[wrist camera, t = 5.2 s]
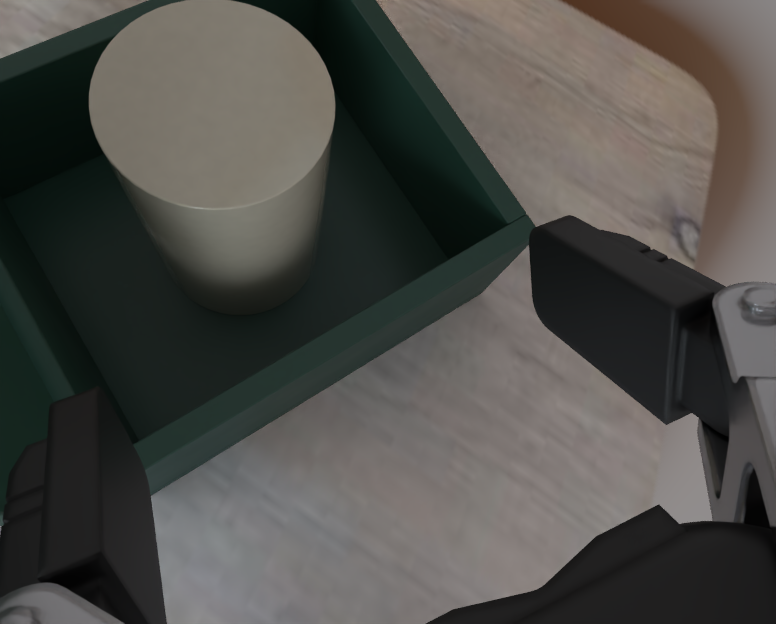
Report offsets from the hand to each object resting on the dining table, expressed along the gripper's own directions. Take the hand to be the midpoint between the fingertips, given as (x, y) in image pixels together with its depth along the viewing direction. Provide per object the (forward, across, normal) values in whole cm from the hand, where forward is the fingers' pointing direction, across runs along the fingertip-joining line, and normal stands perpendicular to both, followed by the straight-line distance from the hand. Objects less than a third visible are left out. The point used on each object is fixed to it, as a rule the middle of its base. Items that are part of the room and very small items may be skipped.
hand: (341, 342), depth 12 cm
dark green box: (+16, 0, +5) cm, 17 cm away
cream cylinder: (+15, 0, +4) cm, 16 cm away
